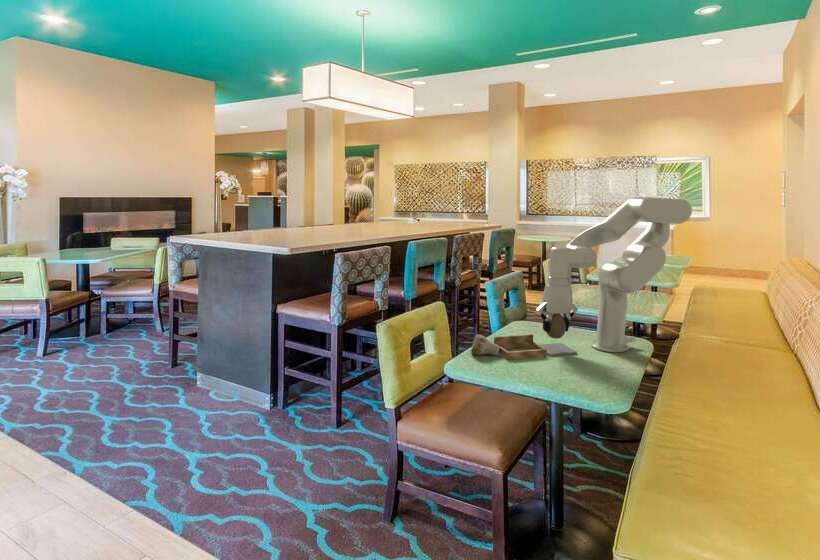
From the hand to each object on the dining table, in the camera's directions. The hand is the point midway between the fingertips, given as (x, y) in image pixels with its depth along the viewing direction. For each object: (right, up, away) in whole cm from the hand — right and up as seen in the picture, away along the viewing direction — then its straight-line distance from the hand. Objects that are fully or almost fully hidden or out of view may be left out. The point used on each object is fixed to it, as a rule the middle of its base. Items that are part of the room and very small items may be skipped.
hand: (555, 330), depth 188 cm
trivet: (0, -7, +1) cm, 8 cm away
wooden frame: (-13, -8, -2) cm, 16 cm away
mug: (-26, -8, -3) cm, 27 cm away
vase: (0, -3, 0) cm, 3 cm away
